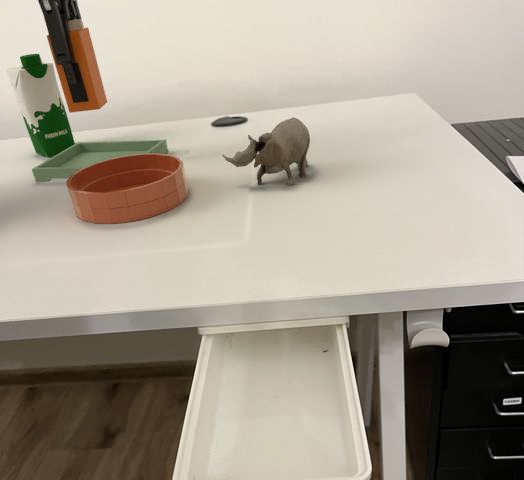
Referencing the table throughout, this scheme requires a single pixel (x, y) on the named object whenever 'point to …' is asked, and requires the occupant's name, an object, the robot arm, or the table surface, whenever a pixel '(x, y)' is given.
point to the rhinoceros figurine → (277, 150)
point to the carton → (82, 69)
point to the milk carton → (41, 105)
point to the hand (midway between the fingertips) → (85, 97)
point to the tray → (93, 156)
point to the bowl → (128, 188)
